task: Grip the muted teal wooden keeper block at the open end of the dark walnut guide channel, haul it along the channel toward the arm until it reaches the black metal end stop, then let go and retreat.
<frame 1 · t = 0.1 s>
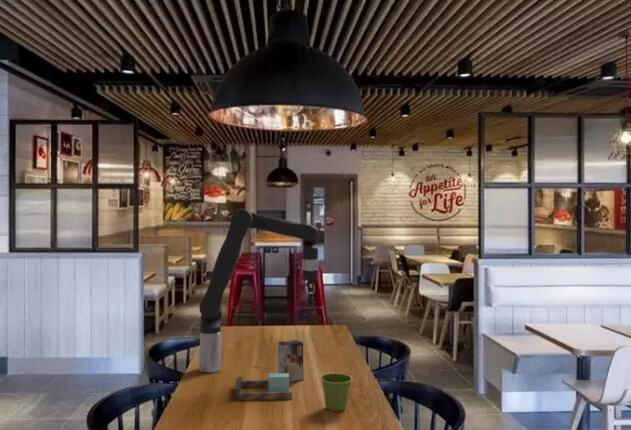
hand: (310, 304, 260), 29 cm above the table, fingers open, 8 cm apart
keeper block: (278, 392, 226), on the table
guide channel: (263, 392, 226), on the table
plant pot: (336, 409, 208), on the table
coffee box: (290, 379, 243), on the table
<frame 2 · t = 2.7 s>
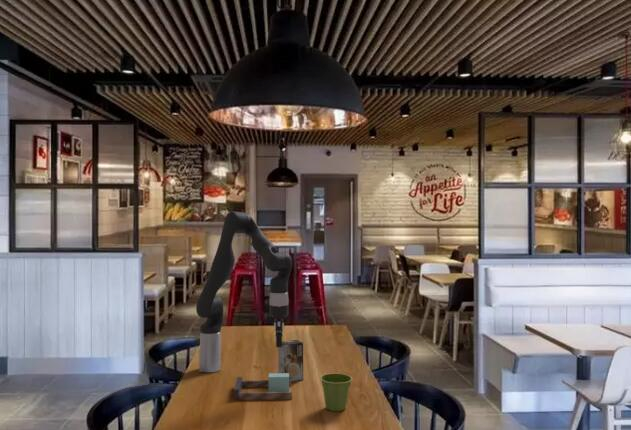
hand: (279, 344, 226), 19 cm above the table, fingers open, 8 cm apart
nothing on the table moved.
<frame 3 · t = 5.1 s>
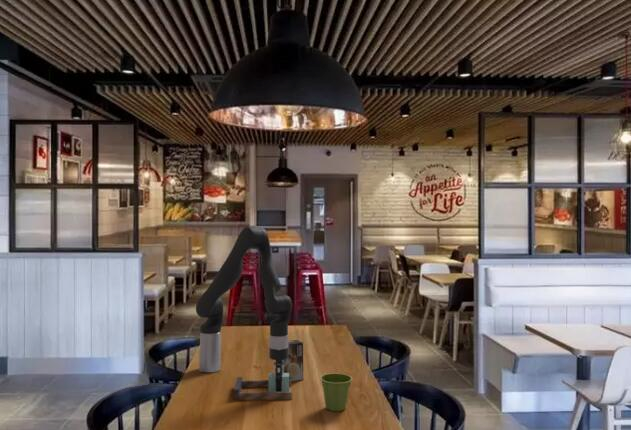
hand: (278, 388, 226), 1 cm above the table, fingers closed on keeper block, 5 cm apart
keeper block: (278, 392, 226), on the table, touching gripper
everything else where it was.
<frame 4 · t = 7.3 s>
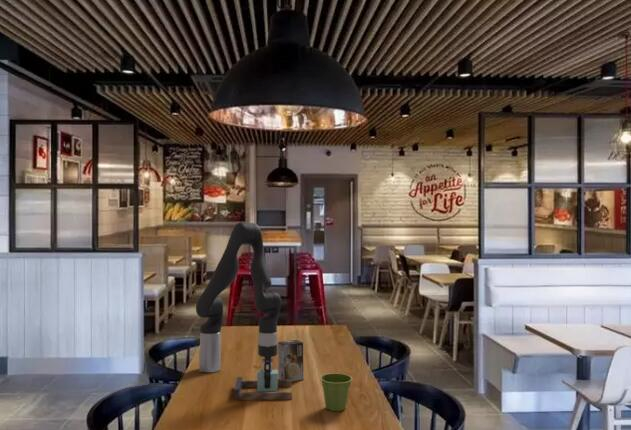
hand: (267, 385, 226), 3 cm above the table, fingers closed on keeper block, 5 cm apart
keeper block: (267, 389, 226), point 1 cm above the table, touching gripper
everything else where it was.
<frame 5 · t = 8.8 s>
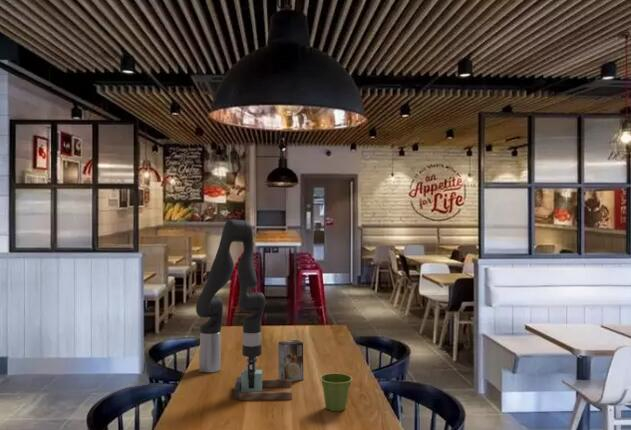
hand: (251, 385, 226), 3 cm above the table, fingers closed on keeper block, 5 cm apart
keeper block: (251, 389, 226), point 1 cm above the table, touching gripper
everything else where it was.
when the fingers open (3 cm above the table, at t = 9.8 s): keeper block drops 1 cm, on the table.
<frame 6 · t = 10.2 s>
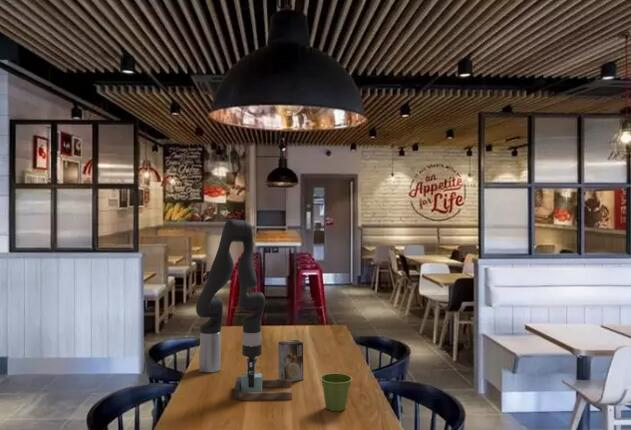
hand: (251, 383, 225), 4 cm above the table, fingers open, 8 cm apart
keeper block: (251, 393, 226), on the table
everything else where it was.
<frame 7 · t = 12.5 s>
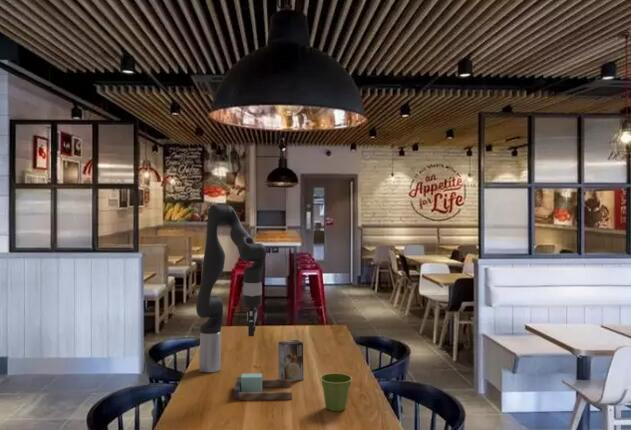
hand: (251, 333, 228), 23 cm above the table, fingers open, 8 cm apart
nothing on the table moved.
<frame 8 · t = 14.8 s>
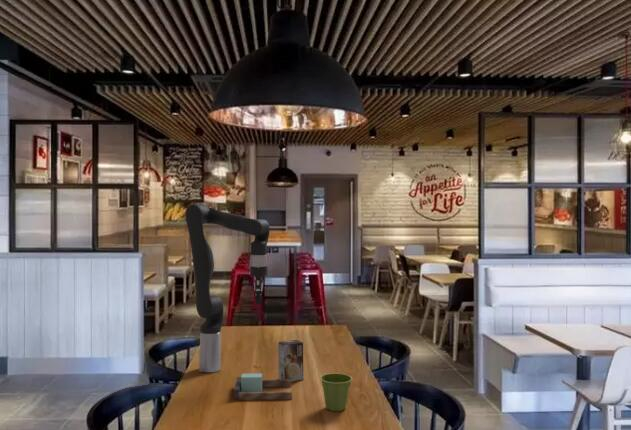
hand: (258, 302, 248), 32 cm above the table, fingers open, 8 cm apart
nothing on the table moved.
at the end: keeper block 0.0 cm from the target spot, on the table; keeper block tilted 0°; the gripper is holding nothing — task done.
